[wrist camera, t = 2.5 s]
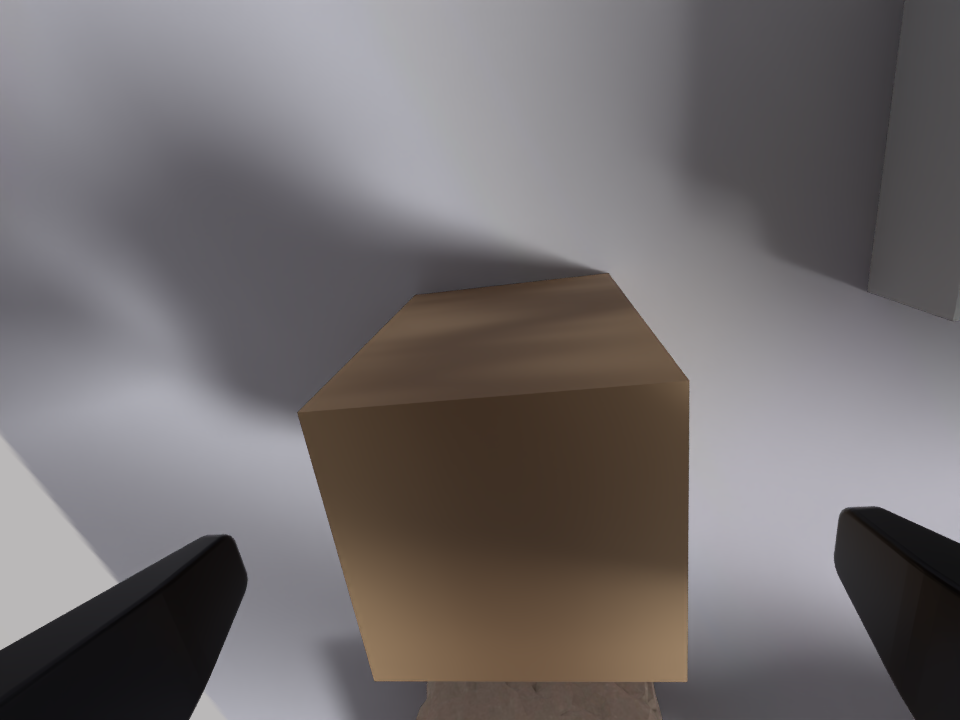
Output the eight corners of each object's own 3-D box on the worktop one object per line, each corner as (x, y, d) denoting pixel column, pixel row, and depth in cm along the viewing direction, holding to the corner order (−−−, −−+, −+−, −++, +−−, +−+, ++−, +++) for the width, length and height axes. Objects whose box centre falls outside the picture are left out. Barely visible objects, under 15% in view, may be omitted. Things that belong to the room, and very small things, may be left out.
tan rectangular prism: (607, 273, 12) (689, 381, 6) (616, 447, 14) (686, 681, 8) (415, 294, 13) (297, 412, 7) (445, 458, 15) (374, 680, 8)
